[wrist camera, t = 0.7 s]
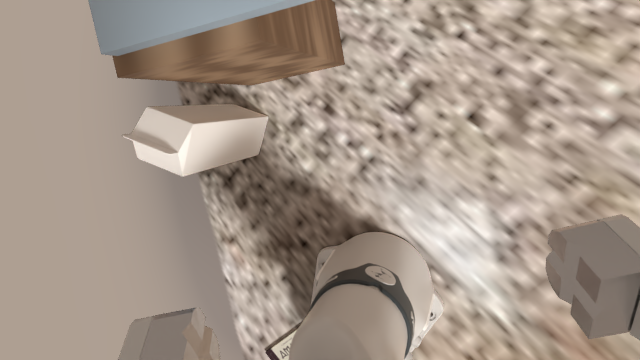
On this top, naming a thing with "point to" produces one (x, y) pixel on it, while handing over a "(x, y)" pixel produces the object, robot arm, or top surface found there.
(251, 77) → the stand
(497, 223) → the top surface
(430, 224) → the top surface
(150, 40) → the slat
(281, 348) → the chocolate bar
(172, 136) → the milk
